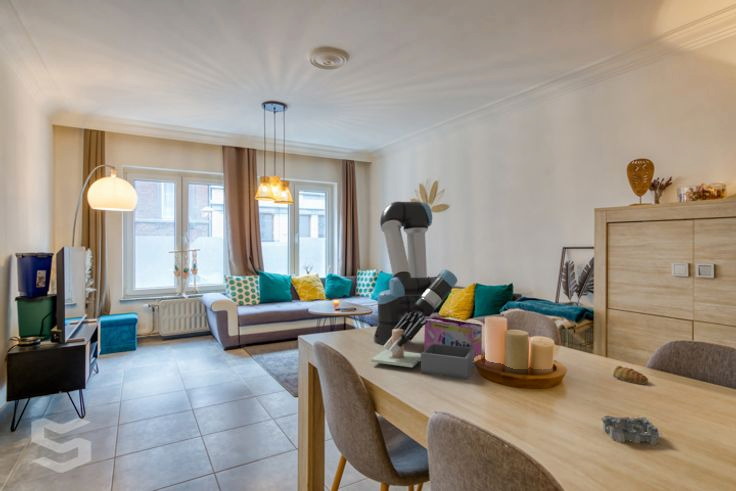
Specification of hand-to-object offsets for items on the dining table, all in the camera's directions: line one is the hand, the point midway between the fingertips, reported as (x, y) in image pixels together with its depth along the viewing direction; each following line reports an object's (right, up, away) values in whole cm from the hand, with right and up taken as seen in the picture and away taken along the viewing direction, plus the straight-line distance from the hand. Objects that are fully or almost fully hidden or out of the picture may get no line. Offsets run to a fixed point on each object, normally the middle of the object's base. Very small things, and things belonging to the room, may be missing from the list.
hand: (389, 350), depth 146 cm
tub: (+21, -5, -6) cm, 22 cm away
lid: (+3, -4, +1) cm, 5 cm away
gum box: (+26, -5, +11) cm, 29 cm away
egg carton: (+54, -7, -53) cm, 76 cm away
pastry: (+79, -6, -16) cm, 81 cm away
